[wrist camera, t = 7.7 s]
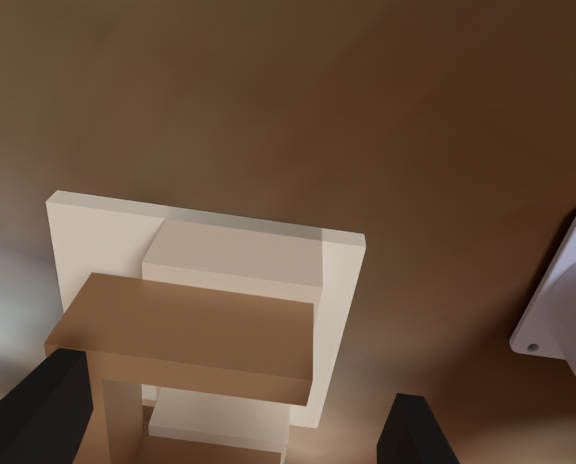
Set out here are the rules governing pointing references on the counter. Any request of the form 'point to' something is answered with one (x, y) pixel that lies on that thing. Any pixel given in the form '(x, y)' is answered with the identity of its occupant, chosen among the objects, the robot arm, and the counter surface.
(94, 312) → the tan c-shaped bracket
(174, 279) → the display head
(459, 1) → the counter surface
